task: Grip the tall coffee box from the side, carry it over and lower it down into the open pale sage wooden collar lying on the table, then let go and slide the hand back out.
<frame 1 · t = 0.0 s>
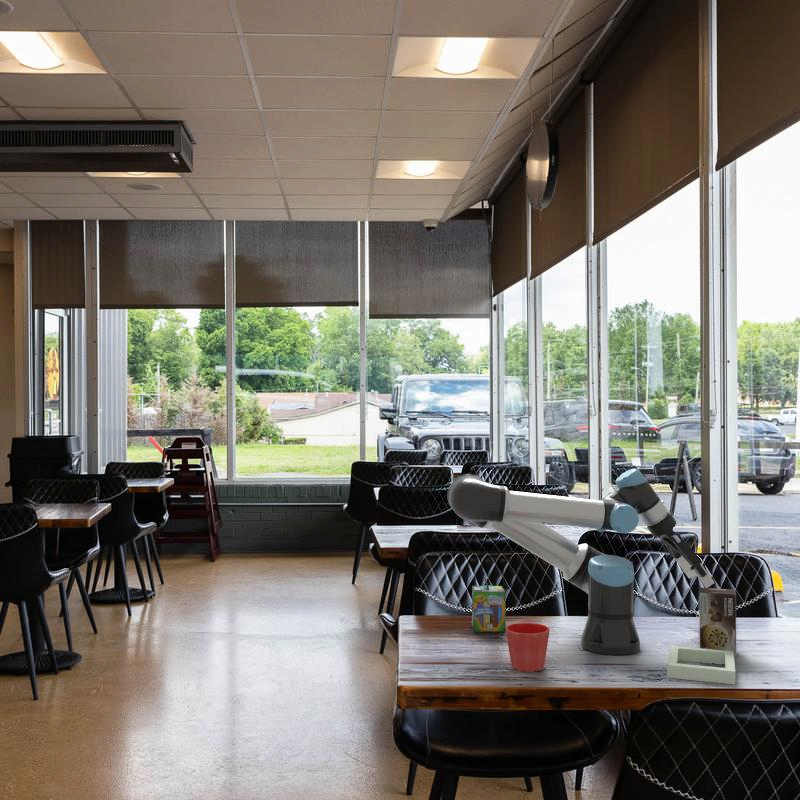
hand: (701, 580, 251), 15 cm above the table, tool tilted 35°, fingers open, 13 cm apart
sage collar: (701, 670, 217), on the table
flower pot: (527, 668, 219), on the table
chalk box: (488, 629, 257), on the table
coffee box: (717, 653, 234), on the table
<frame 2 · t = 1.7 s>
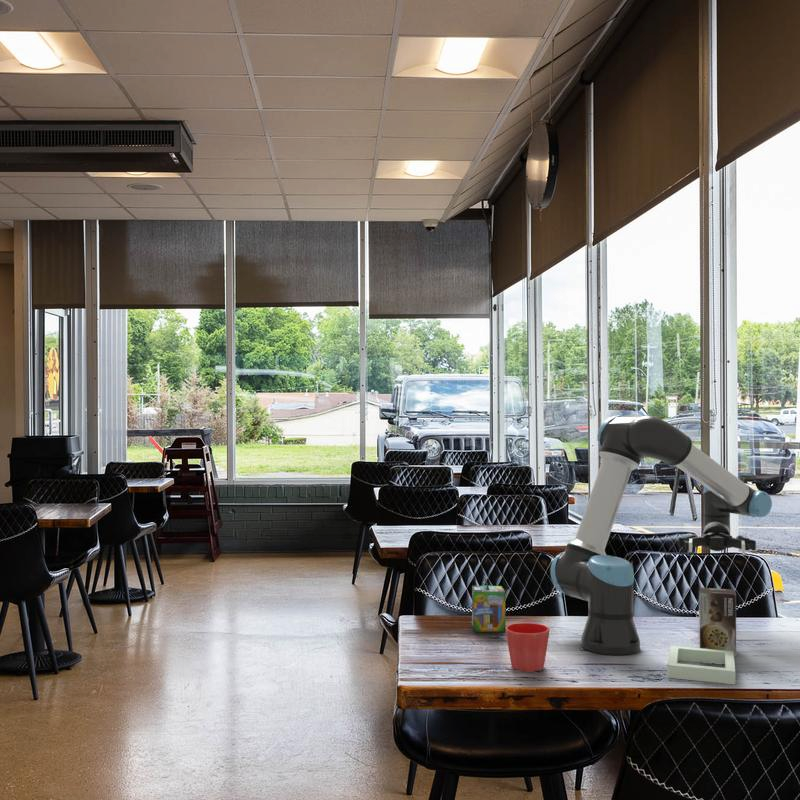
hand: (716, 548, 243), 26 cm above the table, tool horizontal, fingers open, 13 cm apart
nothing on the table moved.
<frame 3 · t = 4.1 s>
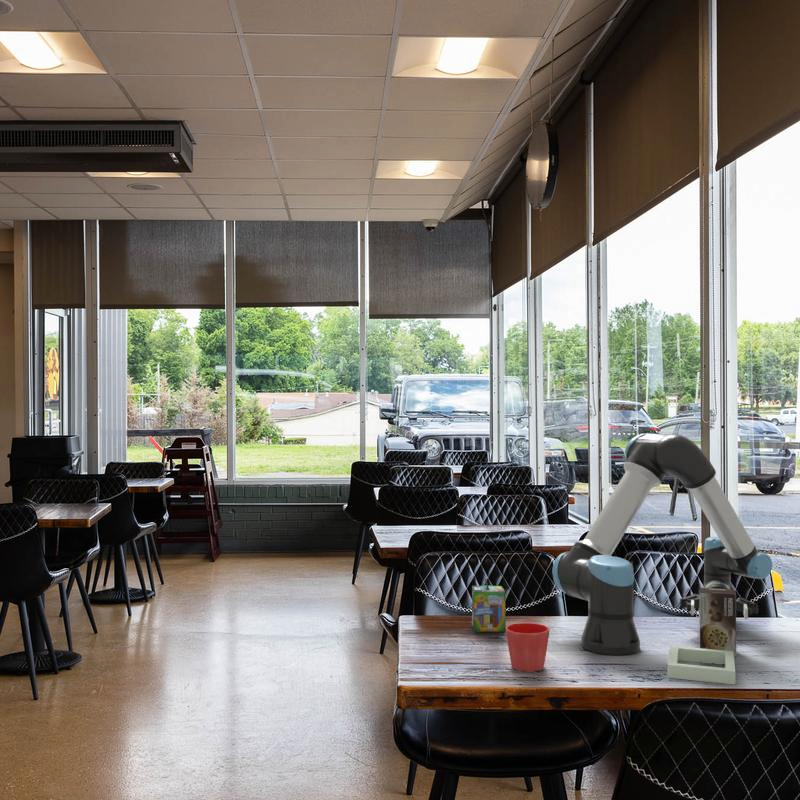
hand: (719, 612, 240), 9 cm above the table, tool horizontal, fingers open, 13 cm apart
nothing on the table moved.
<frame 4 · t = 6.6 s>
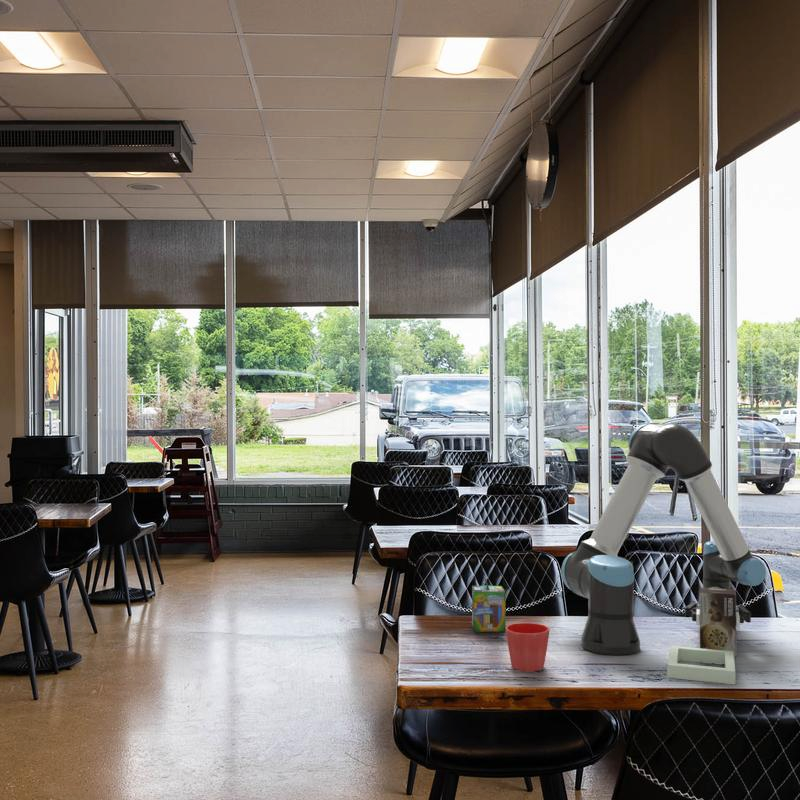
hand: (717, 621, 229), 9 cm above the table, tool horizontal, fingers closed on coffee box, 9 cm apart
coffee box: (717, 652, 234), on the table, touching gripper
everything else where it was.
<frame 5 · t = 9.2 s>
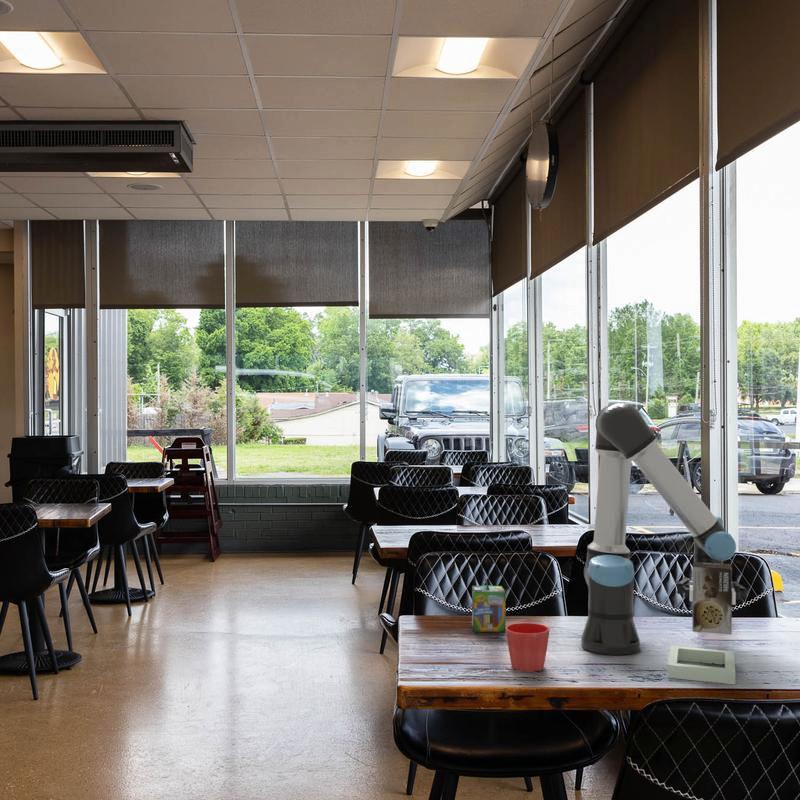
hand: (712, 597, 216), 18 cm above the table, tool horizontal, fingers closed on coffee box, 9 cm apart
coffee box: (711, 631, 220), point 9 cm above the table, touching gripper
everything else where it was.
when the fingers open (10 cm above the table, at t = 11.9 s): coffee box drops 1 cm, resting in sage collar.
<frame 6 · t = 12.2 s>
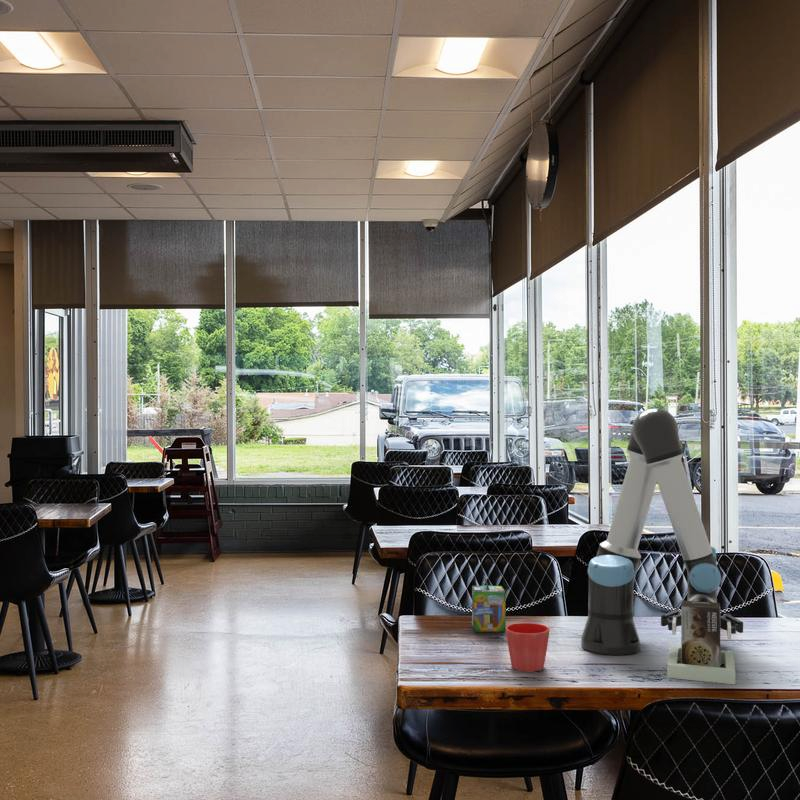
hand: (701, 631, 214), 10 cm above the table, tool horizontal, fingers open, 12 cm apart
coffee box: (700, 671, 218), resting in sage collar
everything else where it was.
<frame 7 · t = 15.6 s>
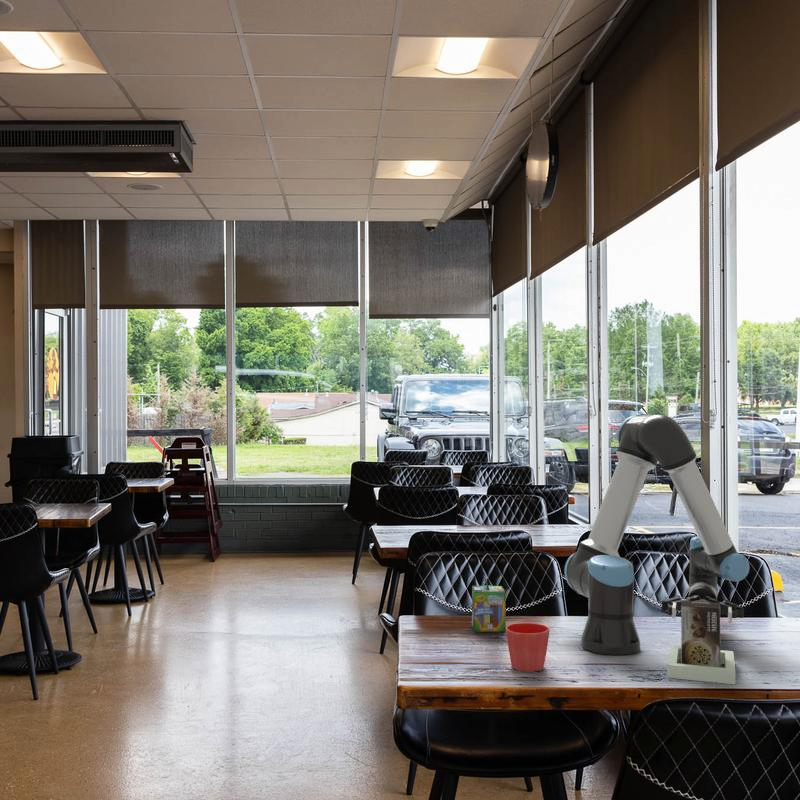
hand: (701, 615, 227), 11 cm above the table, tool horizontal, fingers open, 13 cm apart
nothing on the table moved.
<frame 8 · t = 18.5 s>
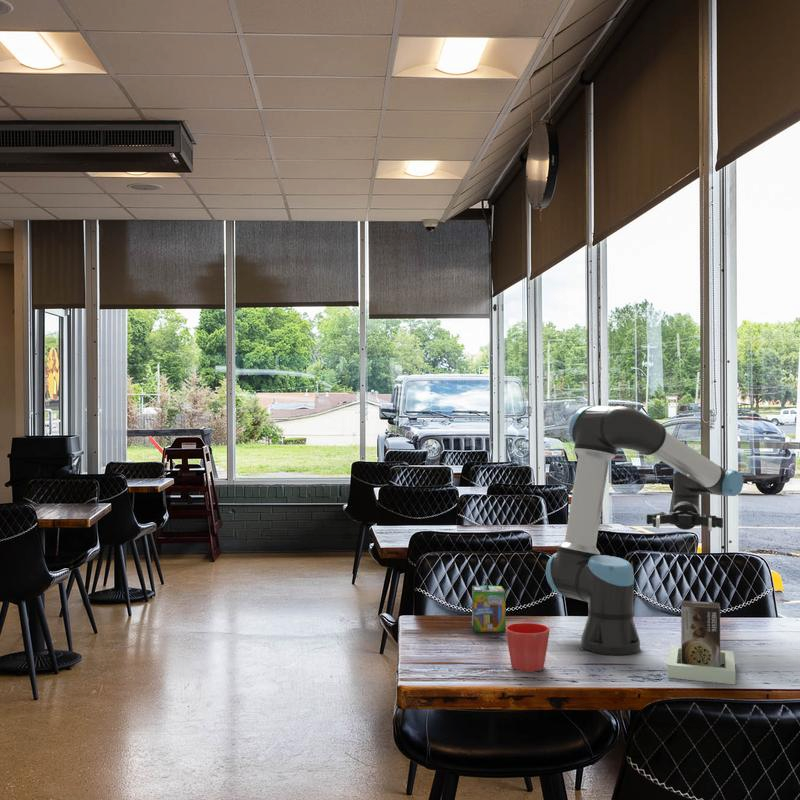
hand: (683, 524, 243), 32 cm above the table, tool horizontal, fingers open, 13 cm apart
nothing on the table moved.
at the end: coffee box 0.1 cm off-centre on the sage collar, point 0.0 cm above the sage collar's base; coffee box tilted 0°; the gripper is holding nothing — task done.
